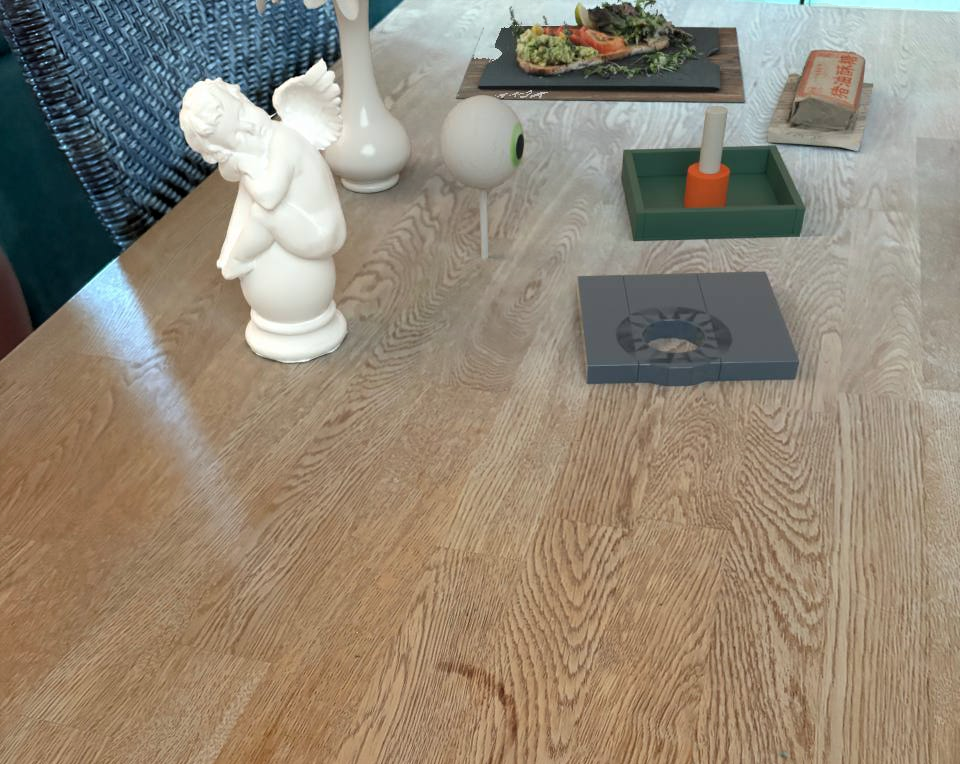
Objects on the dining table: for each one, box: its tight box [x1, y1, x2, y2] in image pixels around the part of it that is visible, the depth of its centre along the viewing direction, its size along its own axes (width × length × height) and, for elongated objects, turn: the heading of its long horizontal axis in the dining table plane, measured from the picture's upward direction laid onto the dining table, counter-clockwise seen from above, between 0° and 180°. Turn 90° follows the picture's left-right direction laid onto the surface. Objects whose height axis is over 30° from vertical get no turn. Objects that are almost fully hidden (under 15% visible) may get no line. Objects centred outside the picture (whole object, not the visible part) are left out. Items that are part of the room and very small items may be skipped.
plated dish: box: [455, 0, 746, 103], centre depth 129 cm, size 35×28×7 cm
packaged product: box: [767, 49, 874, 152], centre depth 114 cm, size 18×5×10 cm
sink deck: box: [576, 270, 800, 387], centre depth 83 cm, size 16×15×3 cm
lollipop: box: [439, 95, 525, 260], centre depth 89 cm, size 7×7×15 cm
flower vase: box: [254, 0, 413, 194], centre depth 99 cm, size 13×18×25 cm
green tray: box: [620, 144, 807, 242], centre depth 101 cm, size 16×15×3 cm
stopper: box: [684, 105, 730, 208], centre depth 98 cm, size 4×4×9 cm
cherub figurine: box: [178, 57, 349, 364], centre depth 80 cm, size 12×12×22 cm
